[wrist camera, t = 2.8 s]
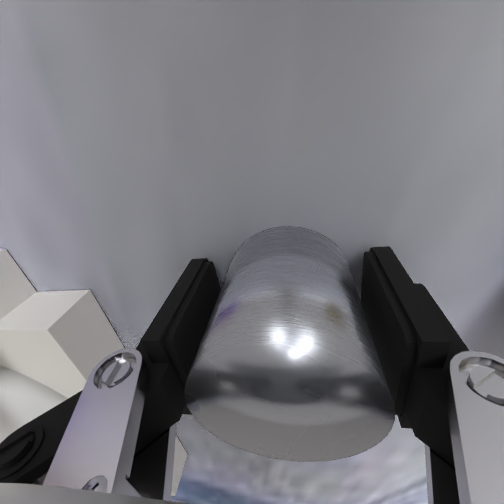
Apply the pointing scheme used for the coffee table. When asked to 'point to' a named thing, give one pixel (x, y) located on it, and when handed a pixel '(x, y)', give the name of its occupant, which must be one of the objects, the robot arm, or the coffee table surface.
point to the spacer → (290, 355)
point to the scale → (50, 350)
